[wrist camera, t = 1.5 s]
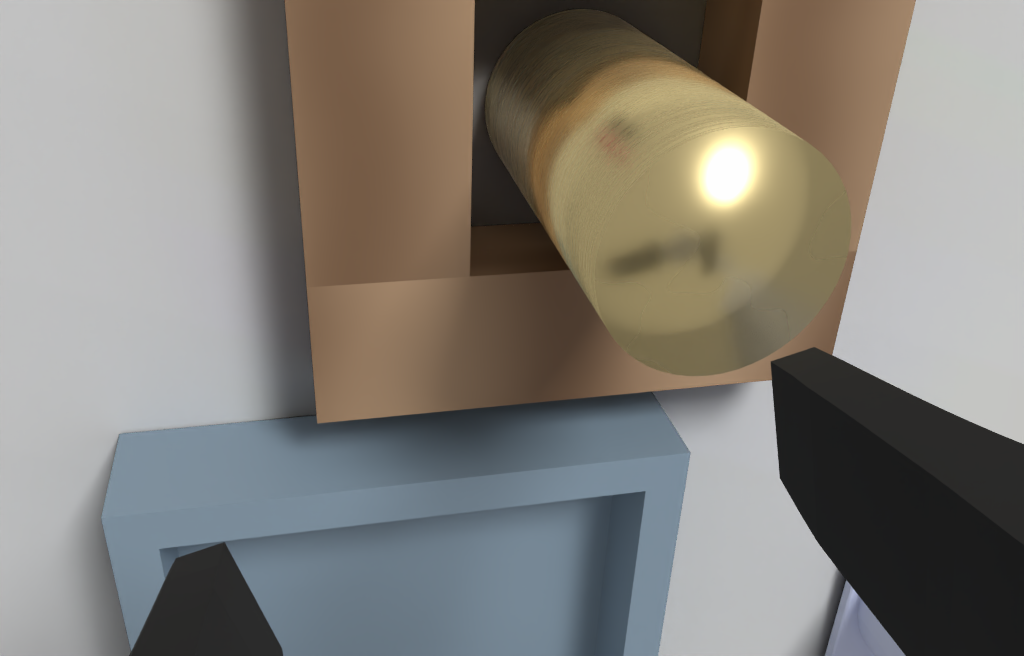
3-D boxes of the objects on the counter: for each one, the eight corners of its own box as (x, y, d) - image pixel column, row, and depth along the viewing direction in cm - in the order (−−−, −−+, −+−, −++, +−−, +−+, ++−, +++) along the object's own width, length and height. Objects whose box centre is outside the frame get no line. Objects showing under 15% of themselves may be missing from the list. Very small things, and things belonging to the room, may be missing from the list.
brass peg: (672, 8, 20) (878, 123, 13) (651, 186, 22) (822, 365, 15) (486, 9, 19) (607, 132, 13) (482, 194, 21) (584, 386, 15)
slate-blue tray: (647, 384, 25) (690, 453, 22) (604, 717, 31) (634, 799, 29) (119, 434, 22) (100, 518, 20) (191, 788, 29) (184, 885, 26)
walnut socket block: (884, -200, 19) (962, -197, 17) (779, 324, 25) (827, 374, 23) (266, -228, 17) (268, -229, 14) (312, 362, 22) (317, 423, 20)
